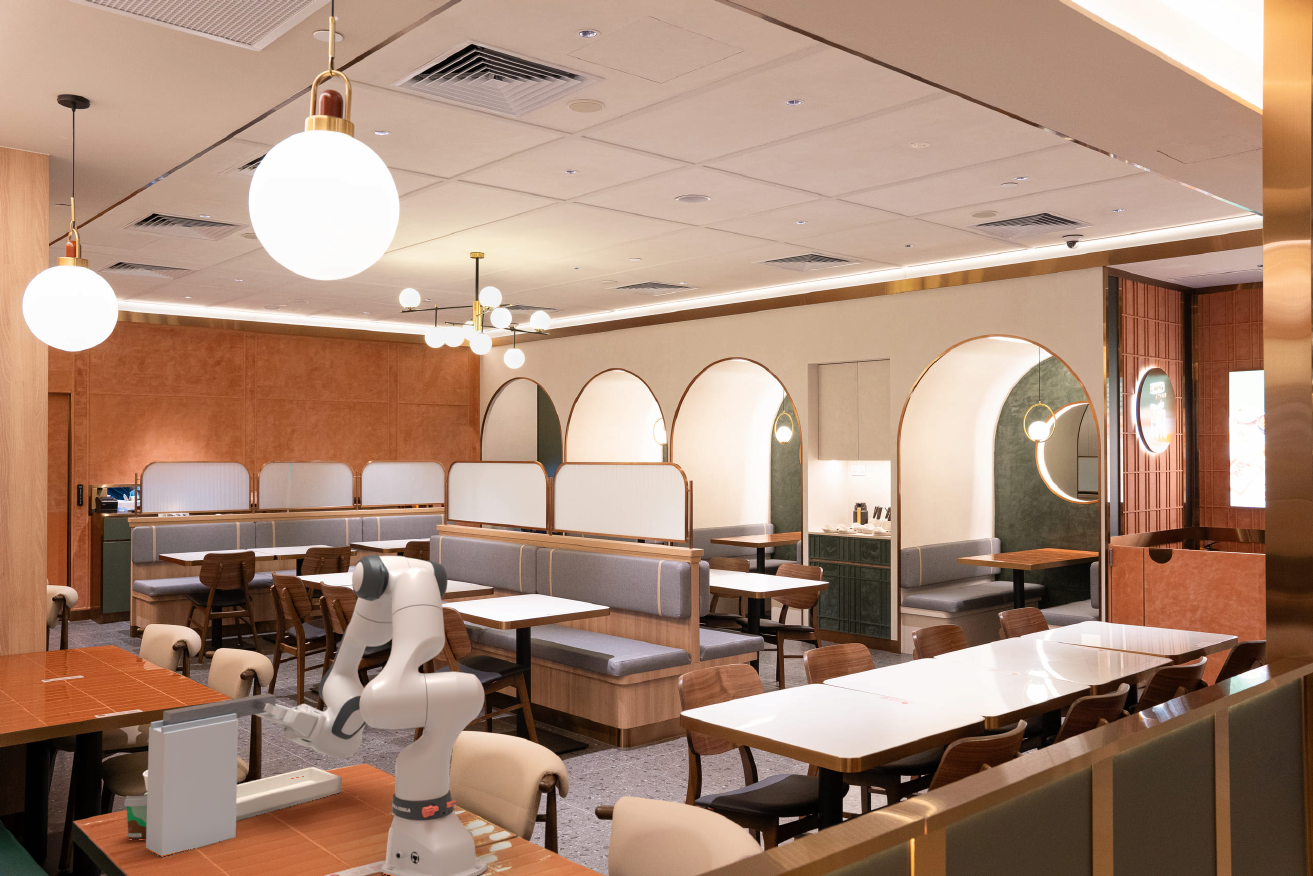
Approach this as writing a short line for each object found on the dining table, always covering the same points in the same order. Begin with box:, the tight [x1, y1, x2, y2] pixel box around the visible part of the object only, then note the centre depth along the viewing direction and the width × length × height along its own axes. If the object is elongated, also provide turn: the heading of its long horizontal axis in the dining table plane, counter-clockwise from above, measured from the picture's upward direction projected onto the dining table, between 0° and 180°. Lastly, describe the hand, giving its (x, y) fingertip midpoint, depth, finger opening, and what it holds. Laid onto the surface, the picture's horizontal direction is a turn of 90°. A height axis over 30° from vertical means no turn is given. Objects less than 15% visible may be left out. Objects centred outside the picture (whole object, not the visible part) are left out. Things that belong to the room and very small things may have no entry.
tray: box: [236, 766, 343, 822], centre depth 242 cm, size 14×31×4 cm, turn 139°
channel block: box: [145, 713, 239, 856], centre depth 215 cm, size 8×16×27 cm, turn 139°
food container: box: [123, 790, 147, 840], centre depth 219 cm, size 12×6×10 cm, turn 161°
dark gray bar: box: [162, 692, 277, 726], centre depth 220 cm, size 4×24×4 cm, turn 139°
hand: (254, 703), depth 226 cm, fingers open, 8 cm apart
